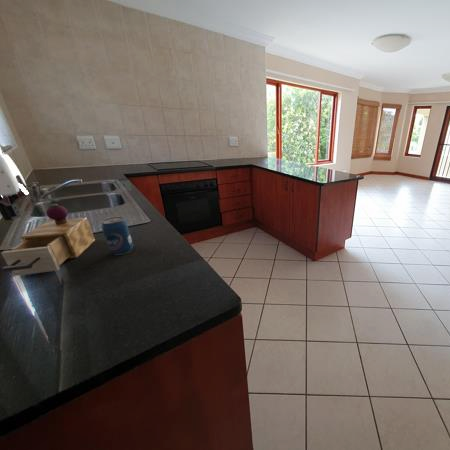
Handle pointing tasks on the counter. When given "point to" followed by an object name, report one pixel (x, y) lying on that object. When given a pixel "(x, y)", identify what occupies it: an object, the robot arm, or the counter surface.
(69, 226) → the cabinet
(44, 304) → the counter surface
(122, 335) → the counter surface
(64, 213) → the mangosteen
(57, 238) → the drawer
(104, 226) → the soda can
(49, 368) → the counter surface
